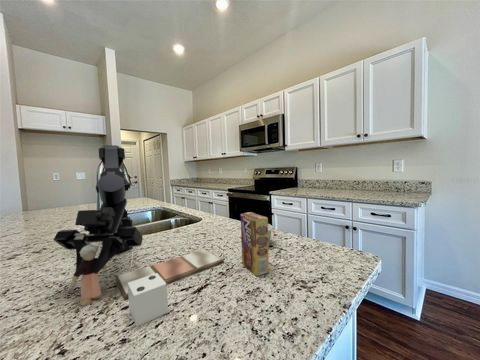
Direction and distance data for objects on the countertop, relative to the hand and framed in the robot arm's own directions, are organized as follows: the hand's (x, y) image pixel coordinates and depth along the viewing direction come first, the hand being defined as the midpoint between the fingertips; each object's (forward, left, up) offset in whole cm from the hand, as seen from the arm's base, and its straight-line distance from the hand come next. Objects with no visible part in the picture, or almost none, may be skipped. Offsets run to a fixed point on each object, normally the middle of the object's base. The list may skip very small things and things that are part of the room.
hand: (86, 273), depth 48 cm
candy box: (+29, +28, -7) cm, 41 cm away
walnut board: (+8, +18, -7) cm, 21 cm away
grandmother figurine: (-1, +1, -7) cm, 7 cm away
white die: (+15, +3, -7) cm, 17 cm away
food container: (+23, +46, -7) cm, 52 cm away
